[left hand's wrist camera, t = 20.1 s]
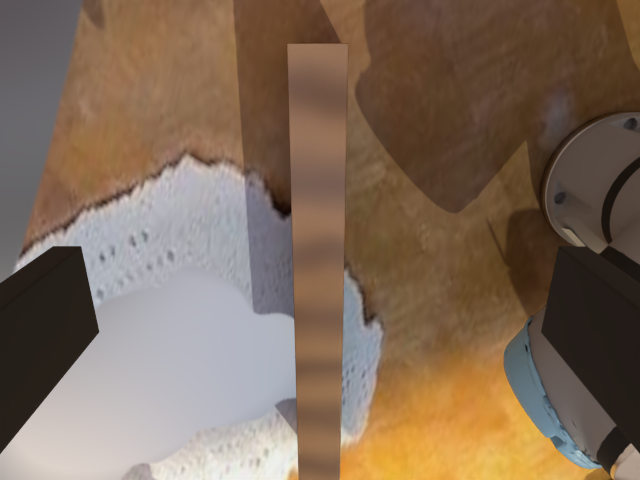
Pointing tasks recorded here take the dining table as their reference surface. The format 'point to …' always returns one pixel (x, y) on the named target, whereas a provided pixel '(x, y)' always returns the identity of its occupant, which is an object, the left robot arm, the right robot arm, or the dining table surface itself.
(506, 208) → the dining table surface
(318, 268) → the beam
